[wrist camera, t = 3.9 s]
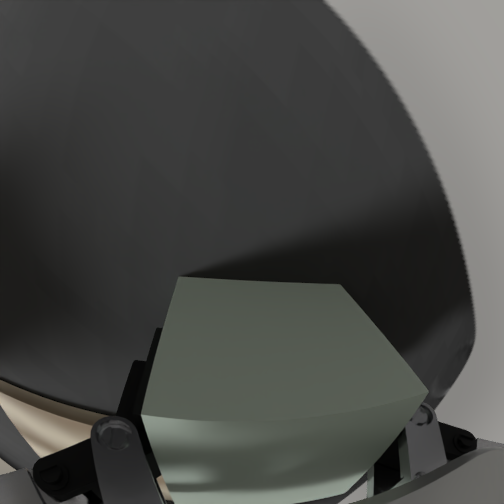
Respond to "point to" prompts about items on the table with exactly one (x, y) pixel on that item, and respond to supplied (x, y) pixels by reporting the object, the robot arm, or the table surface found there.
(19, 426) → the birch pad
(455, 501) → the robot arm
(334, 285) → the sage cube
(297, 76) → the table surface
